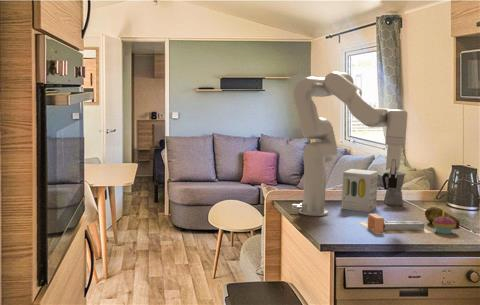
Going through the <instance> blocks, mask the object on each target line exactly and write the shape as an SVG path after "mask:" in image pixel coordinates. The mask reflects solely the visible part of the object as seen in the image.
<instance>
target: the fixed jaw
mask: <svg viewBox="0 0 480 305" xmlns="http://www.w3.org/2000/svg"><path fill="white" fill-rule="evenodd" d="M384 222H385V221H384ZM384 222H383V230H384V231H424V228H425V223H424V222H422V223H384Z"/></svg>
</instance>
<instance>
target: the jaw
mask: <svg viewBox="0 0 480 305" xmlns="http://www.w3.org/2000/svg"><path fill="white" fill-rule="evenodd" d="M385 222H386V223H423V222H422V221H421V220H389V221H387V220H386V221H385Z"/></svg>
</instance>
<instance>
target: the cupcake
mask: <svg viewBox="0 0 480 305" xmlns="http://www.w3.org/2000/svg"><path fill="white" fill-rule="evenodd" d="M441 209H442V215H443V216H442V217H437V218H435V219H434V220H433V223H431V224H432V226H433V227H434V230H435V232H436V233H439V234H443V235H447V234H448V235H449V234H451V233H452V231H453V230H454V229H456V228H457V227H456V222H455V221H454V220H453V219H451V218H448V217H444V211H445V205H444V203H442V208H441Z"/></svg>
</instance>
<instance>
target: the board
mask: <svg viewBox="0 0 480 305" xmlns="http://www.w3.org/2000/svg"><path fill="white" fill-rule="evenodd" d="M384 223H386V221H384ZM358 224H360V225H361V226H363V227H364V228H366V229H367V230H369V231H371V232H372V233H374V234H375V235H378V234H380V235H381V234H433V232H432V231H430V230H429V229H427V228H425V227H424V231H384V230H383V232H374V228H368V221H359V222H358Z"/></svg>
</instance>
